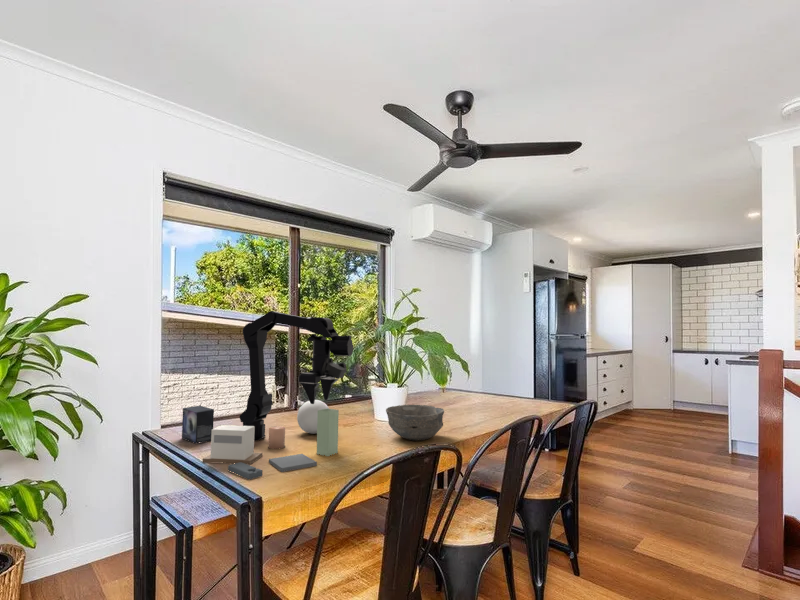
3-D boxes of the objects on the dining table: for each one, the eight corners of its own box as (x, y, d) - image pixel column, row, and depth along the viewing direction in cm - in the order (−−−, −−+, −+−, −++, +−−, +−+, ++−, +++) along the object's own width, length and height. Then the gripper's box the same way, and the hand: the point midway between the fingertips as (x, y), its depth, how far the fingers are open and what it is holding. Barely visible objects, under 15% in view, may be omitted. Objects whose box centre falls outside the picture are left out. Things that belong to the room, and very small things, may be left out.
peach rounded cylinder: (265, 448, 139) (266, 429, 139) (272, 444, 144) (272, 425, 144) (281, 449, 138) (281, 429, 139) (286, 445, 143) (287, 426, 144)
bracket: (240, 469, 119) (241, 461, 120) (262, 477, 113) (263, 469, 113) (227, 472, 116) (227, 465, 116) (249, 481, 110) (249, 473, 110)
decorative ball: (331, 429, 167) (332, 397, 167) (328, 437, 155) (329, 402, 156) (299, 429, 166) (300, 397, 167) (294, 437, 154) (295, 402, 155)
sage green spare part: (316, 454, 133) (317, 410, 134) (326, 450, 137) (327, 408, 138) (328, 456, 131) (329, 412, 132) (337, 452, 135) (338, 409, 136)
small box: (180, 438, 150) (181, 407, 151) (198, 435, 155) (200, 405, 156) (194, 444, 143) (196, 411, 144) (213, 440, 148) (215, 408, 149)
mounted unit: (202, 462, 124) (203, 429, 124) (217, 454, 132) (218, 423, 132) (250, 464, 122) (251, 431, 123) (262, 456, 130) (263, 425, 131)
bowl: (377, 442, 148) (378, 412, 149) (394, 429, 168) (394, 403, 169) (438, 447, 143) (438, 416, 143) (448, 433, 162) (448, 406, 163)
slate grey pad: (268, 462, 124) (268, 458, 124) (302, 457, 130) (302, 453, 130) (281, 472, 116) (281, 468, 116) (316, 465, 122) (316, 461, 122)
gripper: (329, 357, 137) (327, 408, 135) (354, 354, 154) (353, 399, 153) (298, 355, 140) (296, 405, 139) (326, 353, 158) (324, 397, 157)
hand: (319, 401), depth 147 cm, fingers open, 9 cm apart
